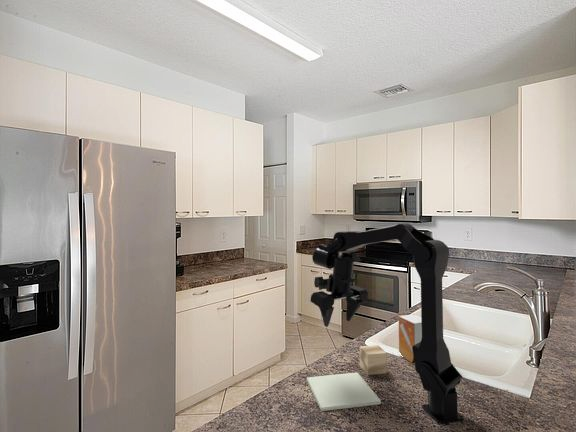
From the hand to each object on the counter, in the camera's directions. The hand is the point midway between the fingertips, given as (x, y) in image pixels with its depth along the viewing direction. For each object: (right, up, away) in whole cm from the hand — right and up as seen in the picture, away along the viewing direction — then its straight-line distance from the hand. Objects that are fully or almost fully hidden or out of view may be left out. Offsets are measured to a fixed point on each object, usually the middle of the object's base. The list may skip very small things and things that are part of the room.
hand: (337, 323), depth 99 cm
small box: (+26, -14, +6) cm, 30 cm away
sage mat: (-1, -14, -13) cm, 19 cm away
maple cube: (+11, -14, -1) cm, 17 cm away
